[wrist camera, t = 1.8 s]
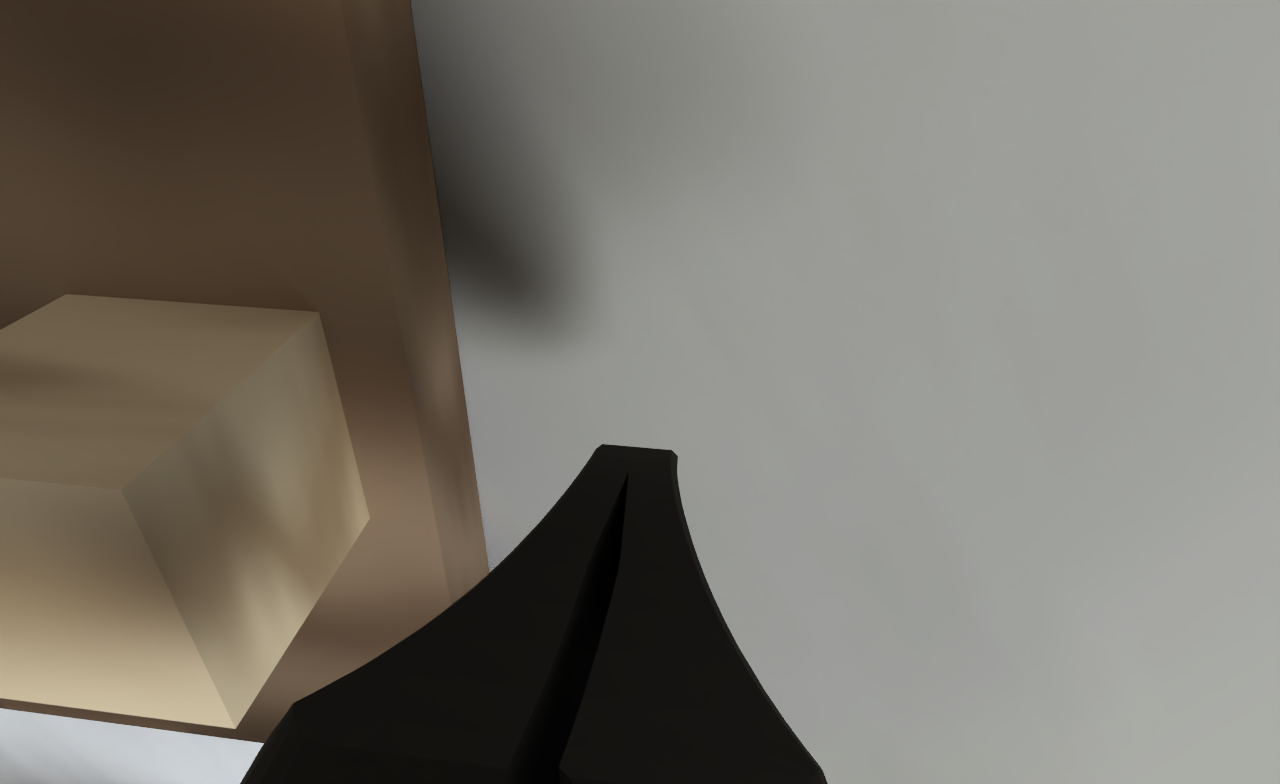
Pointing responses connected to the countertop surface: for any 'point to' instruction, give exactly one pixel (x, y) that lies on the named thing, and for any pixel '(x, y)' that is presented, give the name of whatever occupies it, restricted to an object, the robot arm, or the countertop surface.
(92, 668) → the maple cube
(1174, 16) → the countertop surface
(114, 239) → the trap board
